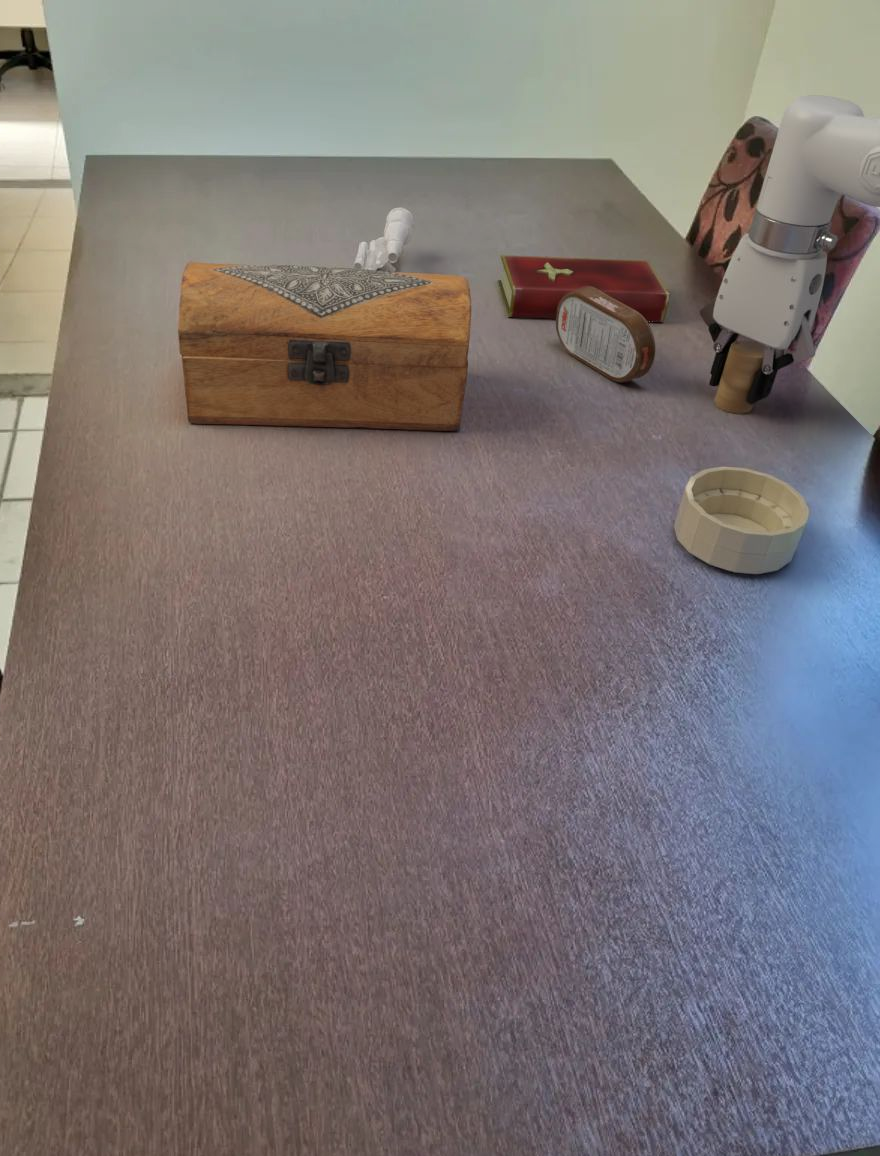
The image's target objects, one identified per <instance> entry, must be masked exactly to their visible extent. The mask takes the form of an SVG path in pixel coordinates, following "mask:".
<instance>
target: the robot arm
mask: <svg viewBox="0 0 880 1156" xmlns="http://www.w3.org/2000/svg"><path fill="white" fill-rule="evenodd" d="M840 195H843V196H845V197H847V198H849V199H851V200H853V201H856V202H858V203H860V204H864V205H867V206H871V207H876V208H880V117H865V114H864V111H863V109H862V108H861V107H860V106H859V105H858V104H857V103H854V102H853V101H850V100H847V99H844V98H840V97H837V96H829V95H820V94H808V95H802V96H799V97H798V96H797V97H796V98H795V99H793V100H792V101H791V102H789V104H788V105H787V106H786V108H785V109H784V112H783V115H782V118H781V121H780V124H779V128H778V132H777V135H776V138H775V141H774V144H773V148H772V152H771V156H770V158H769V162H768V166H767V168H766V172H765V175H764V179H763V183H762V186H761V190H760V192H759V197H758V201H757V203H756V207H755V210H754V213H753V218H752V221H751V224H750V228H749V231H748V232H747V233H745V234H743V236H742V238H741V239H740V241H739V242H738V245H737V246H736V249H735V250H734V252H733V254H732V256H731V258H730V261H729V263H728V264H727V265H728V266H727V268H726V270H725V273H724V276H723V278H722V281H721V283H720V286H719V289H718V292H717V295H716V296H715V297H714V298H713V299H712V300H710V301H709V302H708V303H707V304H705V305H704V306H703V307H702V308H701V309H700V310H699V315H700V317H701V318H702V320H703V322H704V324H705V325H706V327H708V332H709V335H710V337H711V339H712V341H713V346H712V350H713V351H714V352H715V355H714V358H713V361H712V365H711V369H710V375H711V376H710V379H709V383H708V385H709V386H710V387H713V388H715V387H718V386H719V383H720V379H721V376H722V373H723V369H724V366H725V363H726V360H727V356H728V353H729V350H730V346H731V344H732V343H733V342H735V341H739V338H740V337H741V336H742V337H744V338H746V339H749V340H750V341H753V342H757V343H760V344H762V345H764V353H763V363H762V368H761V369H760V370H758V371H757V372H756V373H755V376H754V379H753V382H752V385H751V388H750V391H749V394H748V397H747V403H749V404H751V405H752V404H753V405H755V404H757V403H758V402H760V401H763V400H764V399H766V398H768V397H769V395H770V394H771V392H772V389H773V386H774V383H775V380H776V377H777V374H778V371H779V370H781V369H783V368H785V367H788V366H790V365H794V364H798V363H801V362H805V361H808V360H810V359H812V358H814V357H815V356H816V350H815V349H816V348H815V346H814V340H813V337H812V332H811V331H812V328H813V325H814V322H815V319H816V316H817V315H816V314H817V311H818V308H819V303H820V300H821V297H822V291H823V286H824V283H825V282H824V281H825V278H826V277H825V276H826V270H827V261H828V253H827V252H826V251H823V250H824V249H828V250H833V249H834V247H836V244H837V242H838V240H839V239H838V238H839V237H838V235H835V234H833V233H832V232H831V227H832V224H833V223H832V222H831V220H832V218H833V215H834V212H835V210H836V206H837V204H838V202H839V201H838V200H839V197H840ZM792 341H794V342H795V345H796V349H795V350H791V351H789V352H787V349H789V347H790V346H791V344H792Z"/></svg>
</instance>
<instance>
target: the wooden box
mask: <svg viewBox="0 0 880 1156" xmlns="http://www.w3.org/2000/svg"><path fill="white" fill-rule="evenodd" d="M182 273H183V274H182V278H181V284H180V299H179V304H178V305H179V306H178V320H177V321H178V323H177V325H178V326H177V335H178V336H177V337H178V348H179V349H178V351H179V354H180V355H181V364H182V373H183V374H182V375H183V385H184V393H185V394H184V395H185V402H186V413H187V414H186V415H187V420H188V423H190V424H197V425H198V424H199V425H250V426H277V427H278V426H280V427H281V426H282V427H311V428H312V427H313V428H315V427H316V428H346V429H347V428H364V429H381V430H383V429H384V430H407V431H408V430H409V431H432V432H434V431H435V432H442V431H443V432H449V431H452V432H453V431H458V430H460V428H461V420H462V413H463V406H464V400H465V393H466V386H467V378H468V371H469V370H468V369H469V360H468V358H469V357H468V356H469V348H470V341H471V340H470V339H471V323H472V297H471V289H470V283H469V280H468V278H467V277H466V276H463V275H462V276H461V275H455V274H443V273H422V272H421V273H420V272H403V271H402V272H401V271H400V272H399V271H394V272H389V271H385V270H384V271H381V270H378V269H377V270H368V269H354V268H353V267H352V268H350V267H334V266H333V267H330V266H314V265H313V266H312V265H311V266H309V265H297V264H296V265H295V264H241V263H240V264H239V263H213V262H212V263H210V262H198V261H189V262H188V263H187V264H186V265H185V266H184V270H183V272H182Z"/></svg>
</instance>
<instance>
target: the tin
mask: <svg viewBox="0 0 880 1156" xmlns="http://www.w3.org/2000/svg"><path fill="white" fill-rule="evenodd" d="M555 330H556V334H557V337H558V339H559V342H560V344H561V345H562V347H563V348H564V351H566V352H567V353H568V354H569V355H570V356H572V357H573V358H575V359H577V360H578V361H580V362H581V363H583V364H584V365H586V366H588V367H589V368H591V369H593V370H594V371H596V372H597V373H599V374H600V375H602V376H604V377H605V378H607V379H609V380H610V381H613V382H615V383H626V382H629V381H632V380H636V379H640V378H643V377H644V376H646V375H647V373H649V371H650V370H651V368H652V366H653V364H654V361H655V357H656V340H655V335H654V332H653V330H652V328H651V326H650V324H649V322H647V321H646V319H645V318H644V317H643V316H642V315H641V314H640V313H639V312H637V311H635V310H634V309H632V308H630V307H628V306H626V305H624V304H623V303H621V302H619V301H617V300H615V299H613V298H612V297H610V296H608V295H606V294H605V293H603V292H601V291H599V290H598V289H596V288H594V287H590V286H585V287H582V288H579V289H578V290H575V291H572V292H570V293H568V294H566V295H565V296H564V297H563V298H562V299H561V300H560V302H559V304H558V308H557V314H556V319H555Z"/></svg>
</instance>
